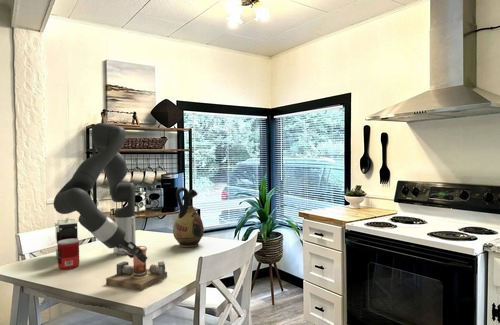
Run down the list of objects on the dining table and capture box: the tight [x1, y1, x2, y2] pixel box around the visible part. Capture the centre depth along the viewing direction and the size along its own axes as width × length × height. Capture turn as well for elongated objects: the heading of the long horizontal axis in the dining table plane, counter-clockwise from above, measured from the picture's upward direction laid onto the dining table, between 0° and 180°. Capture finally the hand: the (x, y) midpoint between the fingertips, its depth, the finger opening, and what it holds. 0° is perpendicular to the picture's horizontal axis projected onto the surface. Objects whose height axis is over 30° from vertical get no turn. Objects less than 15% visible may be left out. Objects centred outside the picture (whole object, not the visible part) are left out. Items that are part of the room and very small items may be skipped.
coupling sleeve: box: [132, 245, 148, 277], centre depth 127 cm, size 5×5×10 cm
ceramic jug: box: [172, 186, 205, 248], centre depth 176 cm, size 17×15×30 cm
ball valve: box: [54, 217, 79, 258], centre depth 159 cm, size 18×8×18 cm, turn 31°
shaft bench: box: [105, 260, 168, 291], centre depth 127 cm, size 17×14×6 cm
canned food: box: [56, 239, 80, 271], centre depth 144 cm, size 8×8×11 cm
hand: (139, 258), depth 126 cm, fingers open, 8 cm apart
